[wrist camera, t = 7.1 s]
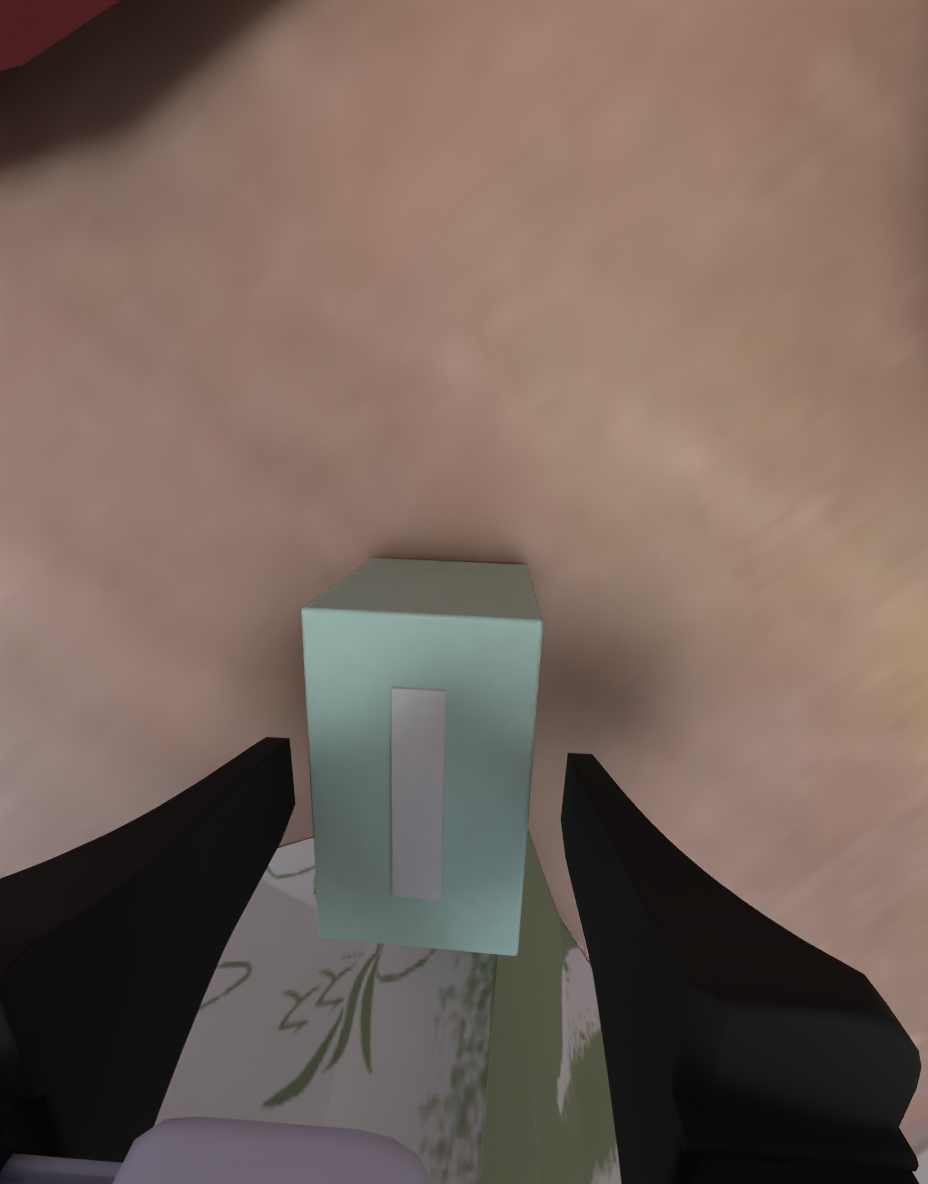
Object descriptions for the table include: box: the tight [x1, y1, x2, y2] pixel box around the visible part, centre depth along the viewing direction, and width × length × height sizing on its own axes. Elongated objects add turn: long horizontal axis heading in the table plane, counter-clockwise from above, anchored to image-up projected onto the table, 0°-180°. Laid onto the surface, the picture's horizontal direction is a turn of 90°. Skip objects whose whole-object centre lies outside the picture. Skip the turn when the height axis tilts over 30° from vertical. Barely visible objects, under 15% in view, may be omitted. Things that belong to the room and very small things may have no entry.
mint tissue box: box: [301, 558, 543, 956], centre depth 14 cm, size 5×9×6 cm, turn 179°
